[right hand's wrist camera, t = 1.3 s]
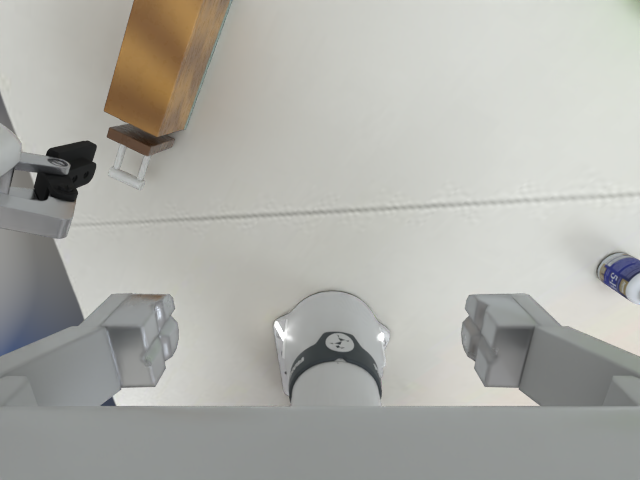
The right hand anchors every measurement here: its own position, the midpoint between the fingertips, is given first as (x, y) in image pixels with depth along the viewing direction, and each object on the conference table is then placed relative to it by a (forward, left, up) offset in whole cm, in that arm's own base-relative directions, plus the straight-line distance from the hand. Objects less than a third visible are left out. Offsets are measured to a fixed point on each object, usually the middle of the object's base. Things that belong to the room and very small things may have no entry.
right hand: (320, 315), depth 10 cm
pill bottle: (-14, -46, -41) cm, 64 cm away
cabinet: (+9, +17, -41) cm, 45 cm away
